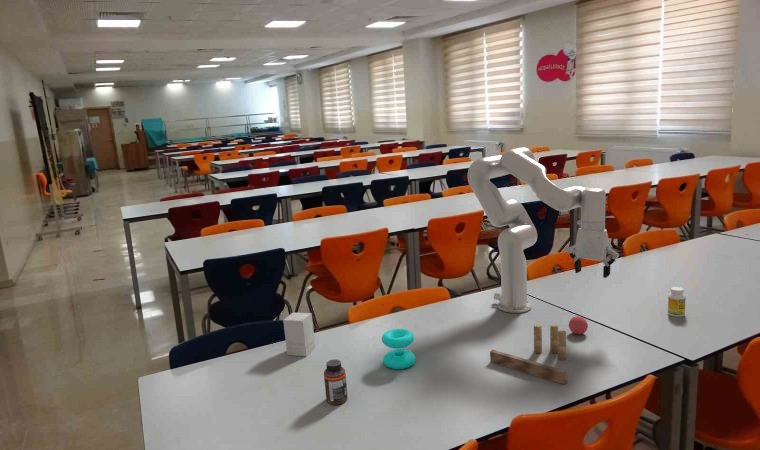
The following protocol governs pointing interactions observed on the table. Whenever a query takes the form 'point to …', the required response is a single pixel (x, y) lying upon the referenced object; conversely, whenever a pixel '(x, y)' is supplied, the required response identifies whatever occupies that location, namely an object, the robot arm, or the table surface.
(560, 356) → the right back pin
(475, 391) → the table surface
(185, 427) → the table surface
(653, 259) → the table surface
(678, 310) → the supplement bottle
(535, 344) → the left back pin
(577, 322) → the ball
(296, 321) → the supplement box
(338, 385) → the supplement bottle
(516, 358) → the back wall
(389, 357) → the donuts
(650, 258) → the table surface
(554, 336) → the front pin
